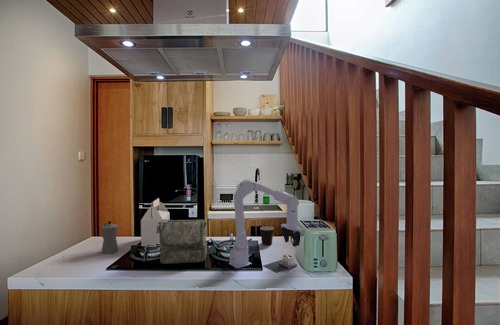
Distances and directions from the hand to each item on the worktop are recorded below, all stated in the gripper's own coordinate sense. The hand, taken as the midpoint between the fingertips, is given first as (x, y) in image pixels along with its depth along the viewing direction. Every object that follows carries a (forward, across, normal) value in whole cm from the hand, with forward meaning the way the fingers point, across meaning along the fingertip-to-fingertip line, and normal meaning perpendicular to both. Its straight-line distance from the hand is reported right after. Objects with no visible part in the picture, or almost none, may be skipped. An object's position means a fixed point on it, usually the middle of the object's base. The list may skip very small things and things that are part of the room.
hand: (291, 243), depth 149 cm
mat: (+10, 0, +10) cm, 14 cm away
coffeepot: (+10, +78, +74) cm, 108 cm away
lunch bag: (+10, +40, +44) cm, 60 cm away
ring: (+8, -3, +6) cm, 11 cm away
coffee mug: (+10, +32, -11) cm, 35 cm away
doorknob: (+10, -3, +6) cm, 12 cm away
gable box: (+10, +78, +46) cm, 91 cm away
